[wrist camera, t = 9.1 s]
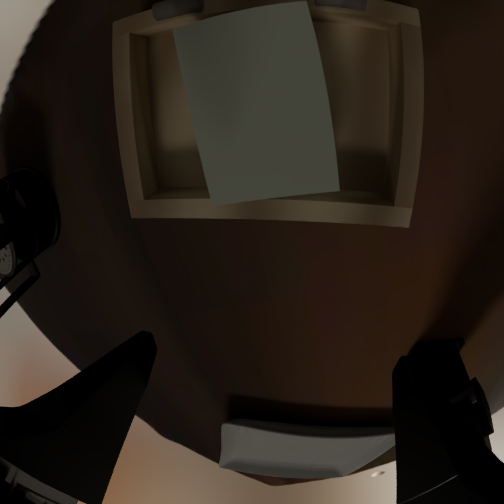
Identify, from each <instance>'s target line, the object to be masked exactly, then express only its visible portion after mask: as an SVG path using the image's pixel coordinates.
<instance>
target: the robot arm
mask: <svg viewBox="0 0 504 504" xmlns="http://www.w3.org/2000/svg"><path fill="white" fill-rule="evenodd" d="M464 344H465V341H464V339H453V340H443V341H430V342H420V343H418V344H416V346H415V347H414V349H413V351H412V353H411V355H410V356H401V357H400V358H399V360H398V362H397V364H396V366H395V368H394V370H393V373H392V388H393V421H394V433H395V447H396V470H397V501H396V502H397V504H504V463H503V462H502V461H500V460H499V459H498V458H497V457H496V455H495V454H494V453H493V452H492V448H491V444H490V439H489V435H490V434H492V433H494V429H493V423H492V418H491V413H490V408H489V404H488V402H487V399H486V396H485V393H484V391H483V389H482V387H481V385H480V384H479V382H478V380H477V379H476V377H474V378H473V379H471V381H470V379H469V376H468V374H467V371H466V369H465V366H464V363H463V361H462V358H461V356H460V354H459V352H460V350H461V349H462V347H463V345H464ZM156 354H157V346H156V343H155V340H154V337H153V334H152V333H151V332H147V331H140V332H139V333H137V334H136V335H134V336H133V337H131V338H130V339H128V340H127V341H125V342H124V343H122V344H121V345H119V346H118V347H116V348H115V349H113V350H112V351H110V352H109V353H108V354H106V355H105V356H103V357H102V358H100V359H99V360H97V361H96V362H94V363H93V364H91V365H90V366H88V367H87V368H85V369H84V370H82V371H81V372H79V373H78V374H76V375H75V376H74V377H73V378H71V379H69V380H67V381H66V382H65V383H63V384H61V385H60V386H58V387H57V388H55V389H53V390H51V391H49V392H48V393H46V394H44V395H42V396H40V397H38V398H36V399H34V400H33V401H31V402H29V403H27V404H25V405H22V406H19V407H0V504H77V502H78V500H79V501H81V502H84V503H86V504H102V501H103V499H104V496H105V493H106V490H107V487H108V484H109V481H110V479H111V476H112V473H113V469H114V467H115V465H116V462H117V459H118V457H119V454H120V451H121V449H122V446H123V444H124V441H125V438H126V436H127V433H128V431H129V428H130V426H131V423H132V421H133V418H134V416H135V413H136V411H137V408H138V406H139V404H140V401H141V399H142V396H143V394H144V392H145V389H146V387H147V384H148V380H149V377H150V374H151V370H152V367H153V363H154V360H155V357H156ZM476 400H477V402H475V403H474V404H473V403H472V402H474V401H476Z"/></svg>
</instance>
